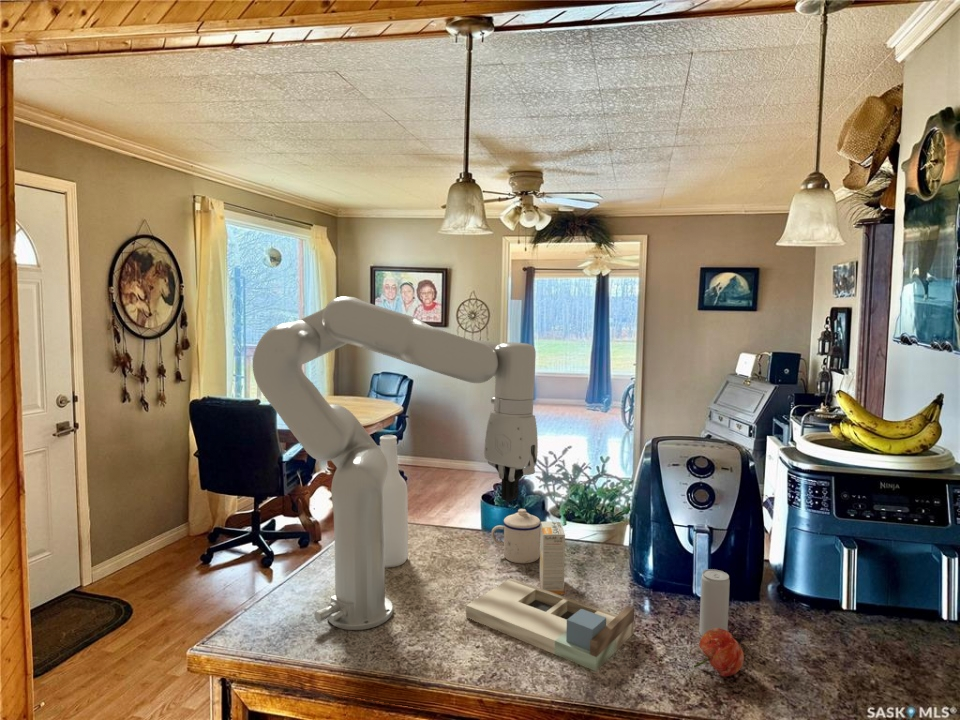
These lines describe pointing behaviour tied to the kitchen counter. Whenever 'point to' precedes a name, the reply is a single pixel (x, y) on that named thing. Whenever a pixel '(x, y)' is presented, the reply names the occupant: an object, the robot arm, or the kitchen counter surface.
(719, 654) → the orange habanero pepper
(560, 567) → the supplement box
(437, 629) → the kitchen counter surface
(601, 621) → the slate block
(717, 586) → the beverage can
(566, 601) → the board
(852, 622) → the kitchen counter surface
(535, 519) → the teacup with lid
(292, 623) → the kitchen counter surface
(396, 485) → the alcohol
